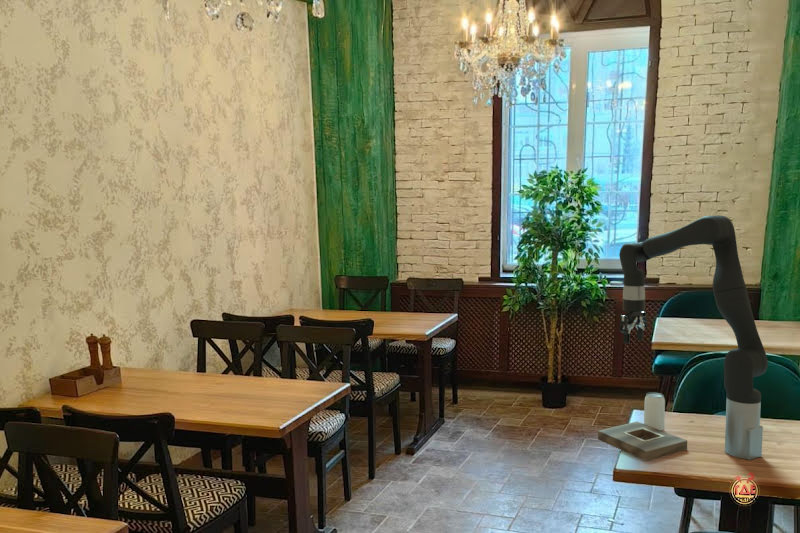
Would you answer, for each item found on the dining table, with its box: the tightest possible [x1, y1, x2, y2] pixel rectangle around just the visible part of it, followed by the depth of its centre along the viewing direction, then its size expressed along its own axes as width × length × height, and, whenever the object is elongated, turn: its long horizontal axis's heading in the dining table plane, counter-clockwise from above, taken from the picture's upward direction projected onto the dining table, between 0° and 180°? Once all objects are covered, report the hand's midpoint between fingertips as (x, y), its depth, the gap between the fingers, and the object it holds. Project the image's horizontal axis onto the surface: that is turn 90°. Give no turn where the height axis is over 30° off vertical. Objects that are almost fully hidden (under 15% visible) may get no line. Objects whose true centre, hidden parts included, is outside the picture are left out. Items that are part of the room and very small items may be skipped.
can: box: [643, 392, 666, 431], centre depth 215 cm, size 6×6×12 cm
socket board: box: [597, 421, 688, 462], centre depth 201 cm, size 20×18×3 cm
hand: (633, 341), depth 227 cm, fingers open, 8 cm apart
